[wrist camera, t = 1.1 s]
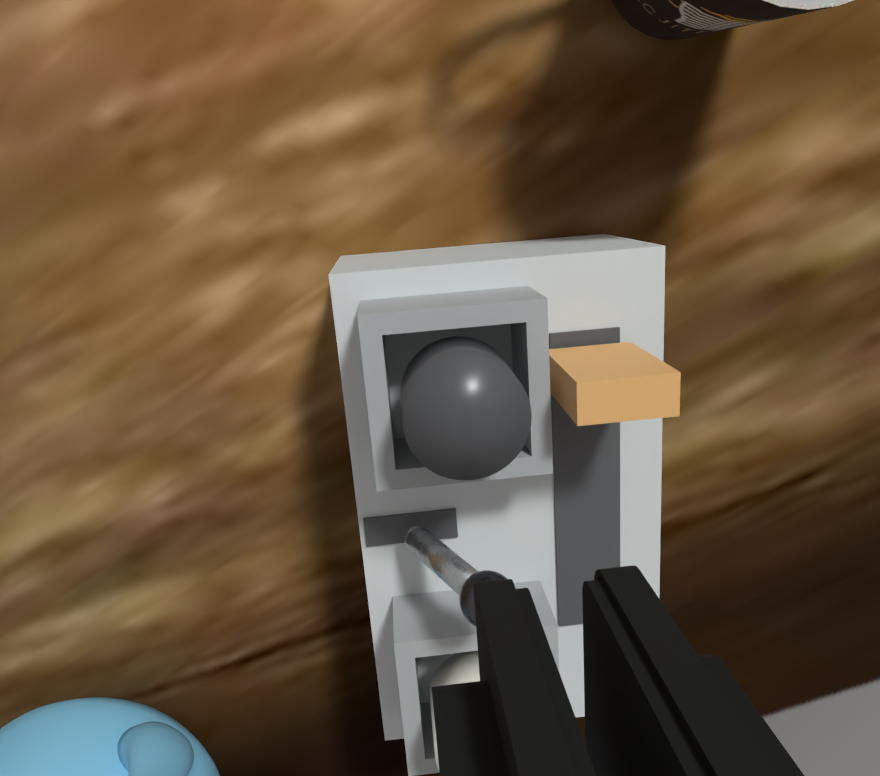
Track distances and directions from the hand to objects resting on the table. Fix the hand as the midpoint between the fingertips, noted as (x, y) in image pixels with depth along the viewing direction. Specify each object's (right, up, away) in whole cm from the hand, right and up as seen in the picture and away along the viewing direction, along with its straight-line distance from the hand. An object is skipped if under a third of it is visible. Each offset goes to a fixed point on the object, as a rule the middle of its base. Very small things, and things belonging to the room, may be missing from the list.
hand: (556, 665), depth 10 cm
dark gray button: (-1, +4, +13) cm, 14 cm away
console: (+1, +1, +24) cm, 24 cm away
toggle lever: (-3, -2, +16) cm, 17 cm away
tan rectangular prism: (+4, +5, +16) cm, 17 cm away
